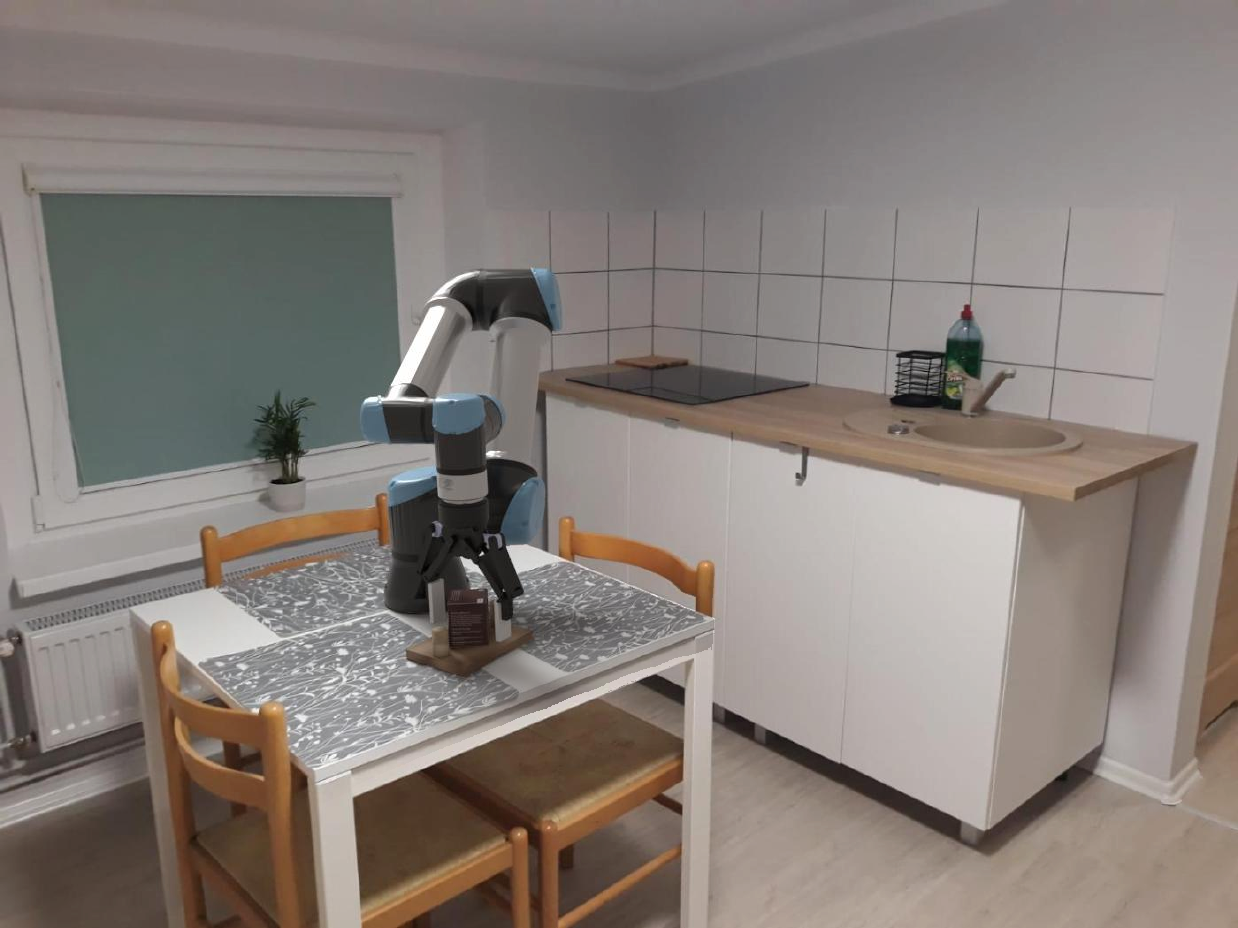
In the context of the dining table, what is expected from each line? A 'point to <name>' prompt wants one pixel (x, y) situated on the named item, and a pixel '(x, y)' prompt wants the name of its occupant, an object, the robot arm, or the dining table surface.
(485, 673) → the dining table surface
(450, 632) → the box
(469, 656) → the rack board
